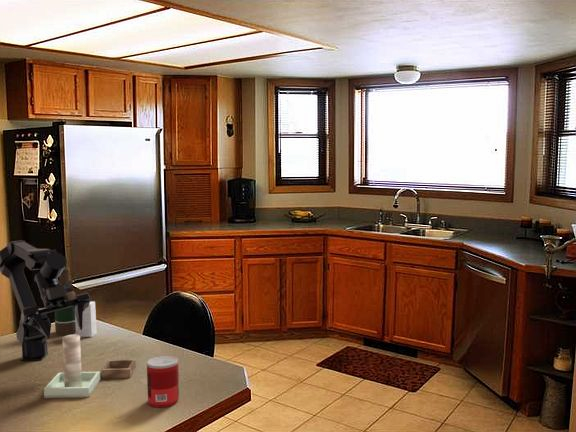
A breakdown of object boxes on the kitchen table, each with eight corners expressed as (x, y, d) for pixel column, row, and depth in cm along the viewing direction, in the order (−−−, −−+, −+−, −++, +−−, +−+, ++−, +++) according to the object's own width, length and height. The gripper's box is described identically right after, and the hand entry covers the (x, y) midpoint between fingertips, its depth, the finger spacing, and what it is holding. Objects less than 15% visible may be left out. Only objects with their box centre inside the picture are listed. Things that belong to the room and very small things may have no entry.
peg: (60, 388, 154) (58, 338, 152) (72, 382, 158) (70, 333, 156) (73, 390, 152) (71, 340, 151) (85, 384, 156) (83, 335, 155)
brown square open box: (102, 378, 162) (101, 369, 162) (108, 367, 170) (108, 359, 170) (130, 377, 163) (130, 369, 163) (136, 367, 171) (135, 359, 171)
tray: (44, 398, 149) (43, 389, 149) (58, 381, 160) (58, 372, 160) (89, 396, 150) (88, 387, 149) (100, 379, 161) (100, 371, 161)
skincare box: (97, 333, 204) (95, 301, 203) (91, 337, 199) (90, 304, 198) (80, 333, 204) (79, 300, 203) (75, 336, 200) (74, 303, 199)
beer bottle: (82, 330, 208) (80, 266, 205) (68, 336, 200) (65, 270, 198) (65, 328, 210) (63, 265, 208) (50, 334, 203) (47, 268, 200)
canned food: (184, 401, 147) (184, 360, 146) (158, 411, 141) (157, 368, 140) (167, 392, 152) (166, 353, 151) (142, 402, 147) (140, 361, 145)
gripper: (17, 281, 155) (33, 331, 150) (85, 266, 167) (102, 312, 161) (14, 299, 163) (29, 348, 158) (79, 284, 175) (95, 328, 169)
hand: (65, 333), depth 161 cm, fingers open, 9 cm apart
